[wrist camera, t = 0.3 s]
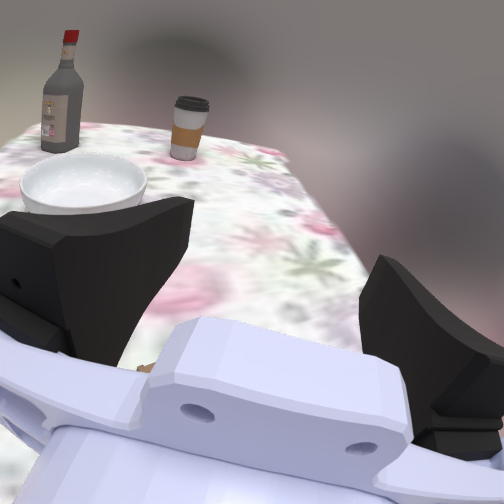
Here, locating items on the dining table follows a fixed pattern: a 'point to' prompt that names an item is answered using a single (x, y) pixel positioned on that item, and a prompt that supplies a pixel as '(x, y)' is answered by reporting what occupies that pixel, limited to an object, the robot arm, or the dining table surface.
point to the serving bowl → (82, 184)
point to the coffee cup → (188, 127)
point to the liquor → (62, 102)
